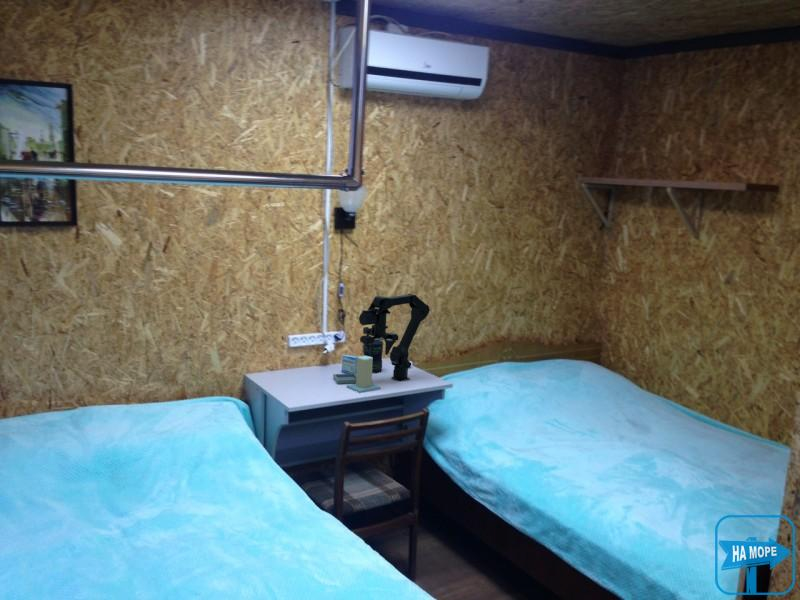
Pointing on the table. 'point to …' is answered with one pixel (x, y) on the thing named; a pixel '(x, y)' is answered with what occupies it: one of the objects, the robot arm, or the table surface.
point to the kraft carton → (364, 371)
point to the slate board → (359, 389)
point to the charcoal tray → (345, 378)
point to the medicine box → (349, 364)
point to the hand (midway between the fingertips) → (378, 356)
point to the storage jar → (375, 356)
